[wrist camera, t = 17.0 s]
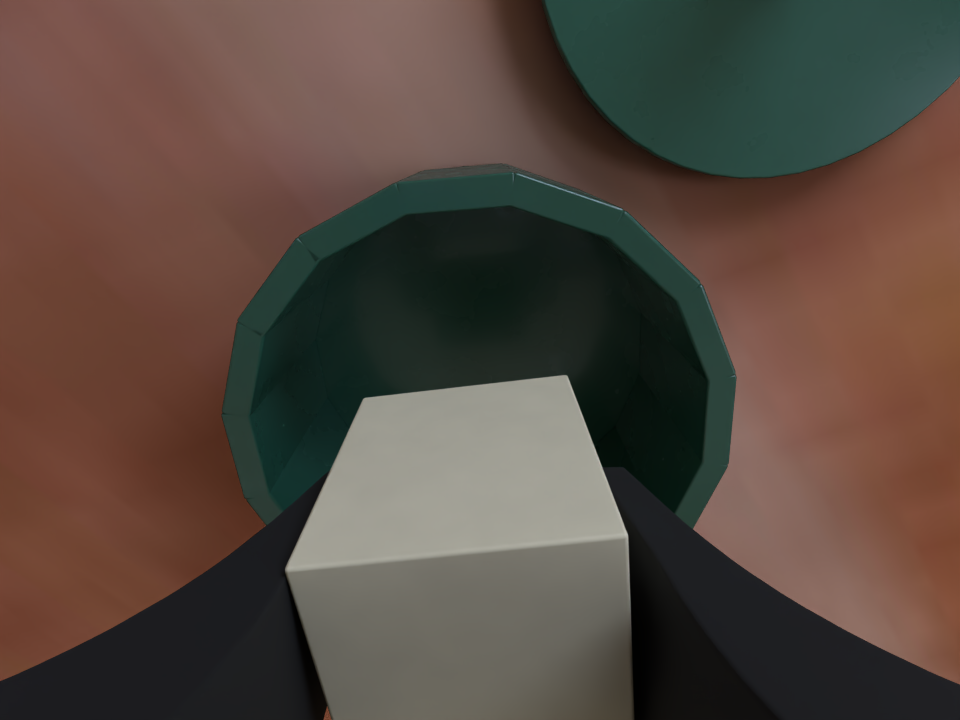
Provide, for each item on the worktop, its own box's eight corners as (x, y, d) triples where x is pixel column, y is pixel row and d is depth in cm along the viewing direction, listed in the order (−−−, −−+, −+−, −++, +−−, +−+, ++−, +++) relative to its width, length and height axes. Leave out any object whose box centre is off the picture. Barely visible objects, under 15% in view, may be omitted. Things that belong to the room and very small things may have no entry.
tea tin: (234, 370, 20) (131, 465, 14) (455, 74, 17) (441, 34, 11) (497, 552, 23) (503, 693, 17) (730, 332, 20) (840, 414, 14)
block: (398, 559, 13) (352, 793, 9) (362, 396, 12) (281, 569, 7) (579, 541, 13) (636, 769, 8) (567, 373, 12) (629, 534, 7)
